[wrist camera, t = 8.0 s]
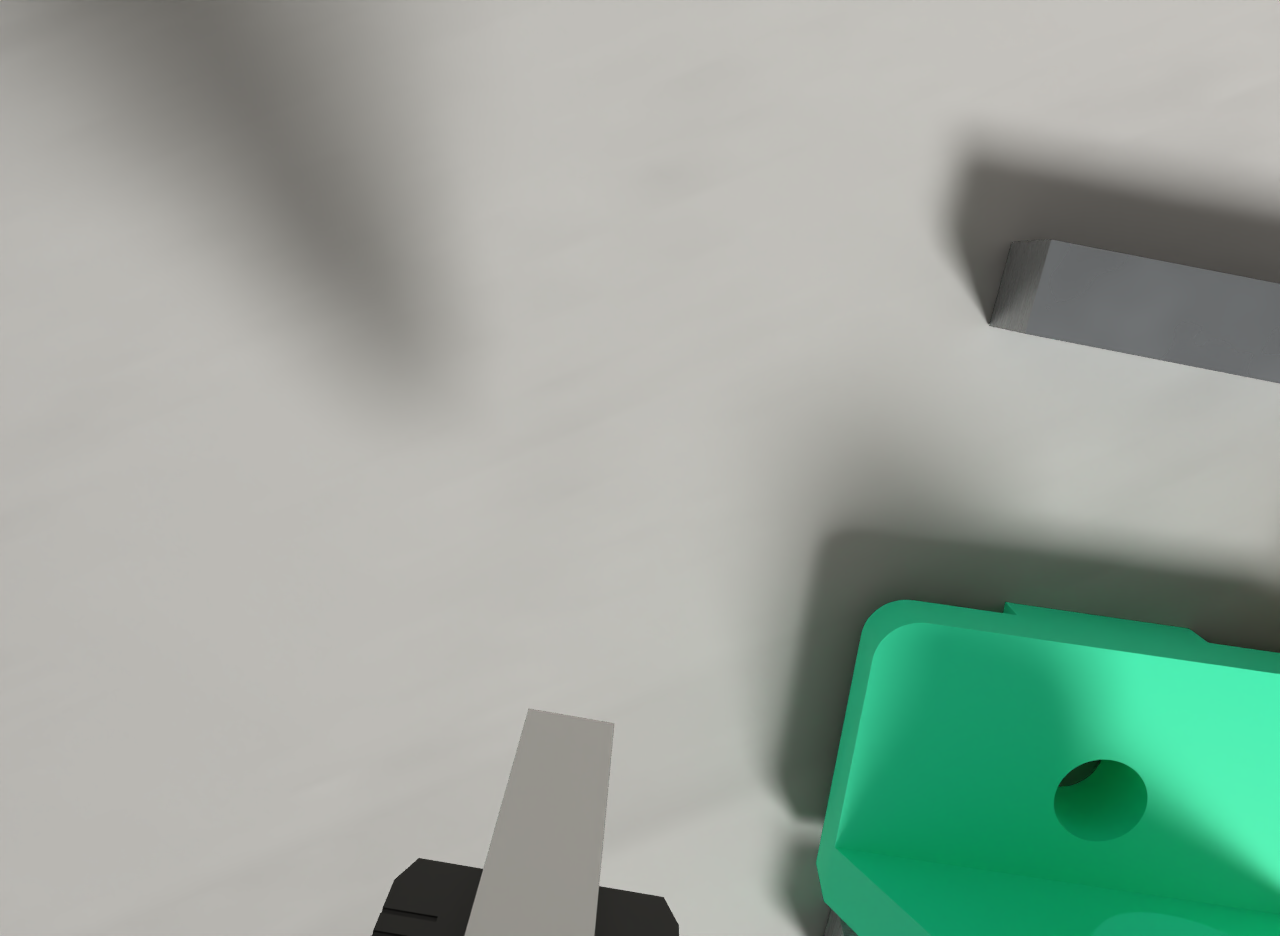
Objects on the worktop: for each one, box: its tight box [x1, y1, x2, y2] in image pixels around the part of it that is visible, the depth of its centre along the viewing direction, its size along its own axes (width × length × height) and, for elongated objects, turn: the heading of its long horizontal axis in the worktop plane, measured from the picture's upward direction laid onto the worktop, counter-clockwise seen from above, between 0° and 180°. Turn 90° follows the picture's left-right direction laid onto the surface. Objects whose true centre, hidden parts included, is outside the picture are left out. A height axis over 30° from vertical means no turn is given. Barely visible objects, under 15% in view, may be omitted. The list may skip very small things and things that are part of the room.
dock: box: [824, 239, 1280, 936], centre depth 23 cm, size 13×20×4 cm, turn 169°
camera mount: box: [816, 600, 1280, 936], centre depth 20 cm, size 12×8×10 cm, turn 82°
